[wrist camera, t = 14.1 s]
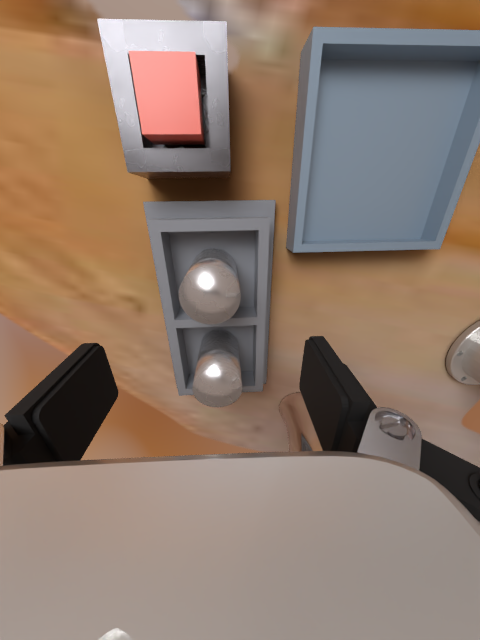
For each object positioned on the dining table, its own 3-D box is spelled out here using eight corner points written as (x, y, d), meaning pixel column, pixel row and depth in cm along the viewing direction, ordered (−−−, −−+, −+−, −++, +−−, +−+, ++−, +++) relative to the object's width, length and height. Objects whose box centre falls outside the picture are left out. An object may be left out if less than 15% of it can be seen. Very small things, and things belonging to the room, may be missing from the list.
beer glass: (306, 423, 40) (347, 534, 26) (269, 416, 38) (293, 529, 25) (325, 394, 37) (382, 503, 23) (286, 385, 35) (323, 495, 22)
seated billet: (237, 328, 29) (241, 368, 22) (238, 360, 31) (242, 405, 24) (198, 329, 29) (189, 371, 22) (202, 361, 31) (195, 408, 24)
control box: (226, 64, 19) (226, 21, 14) (229, 178, 22) (230, 171, 18) (128, 63, 19) (97, 18, 14) (147, 178, 22) (127, 172, 18)
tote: (480, 55, 19) (521, 30, 17) (418, 244, 27) (439, 249, 24) (300, 52, 19) (313, 26, 16) (286, 247, 26) (293, 252, 23)
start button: (200, 76, 17) (195, 51, 14) (204, 144, 18) (201, 134, 16) (144, 75, 16) (128, 50, 14) (154, 144, 18) (142, 134, 16)
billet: (236, 247, 25) (240, 266, 17) (236, 291, 27) (240, 323, 20) (189, 248, 24) (174, 267, 17) (194, 292, 27) (182, 325, 19)
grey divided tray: (273, 200, 24) (282, 199, 20) (265, 379, 34) (269, 399, 31) (146, 201, 23) (131, 201, 19) (178, 383, 34) (172, 404, 30)
